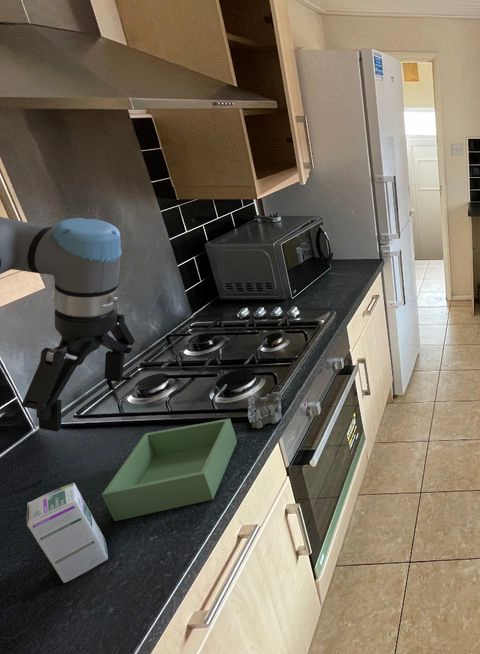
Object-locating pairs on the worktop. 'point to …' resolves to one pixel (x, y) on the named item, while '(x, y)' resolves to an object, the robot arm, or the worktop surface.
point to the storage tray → (171, 469)
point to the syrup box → (66, 532)
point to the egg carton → (264, 409)
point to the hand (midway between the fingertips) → (84, 402)
